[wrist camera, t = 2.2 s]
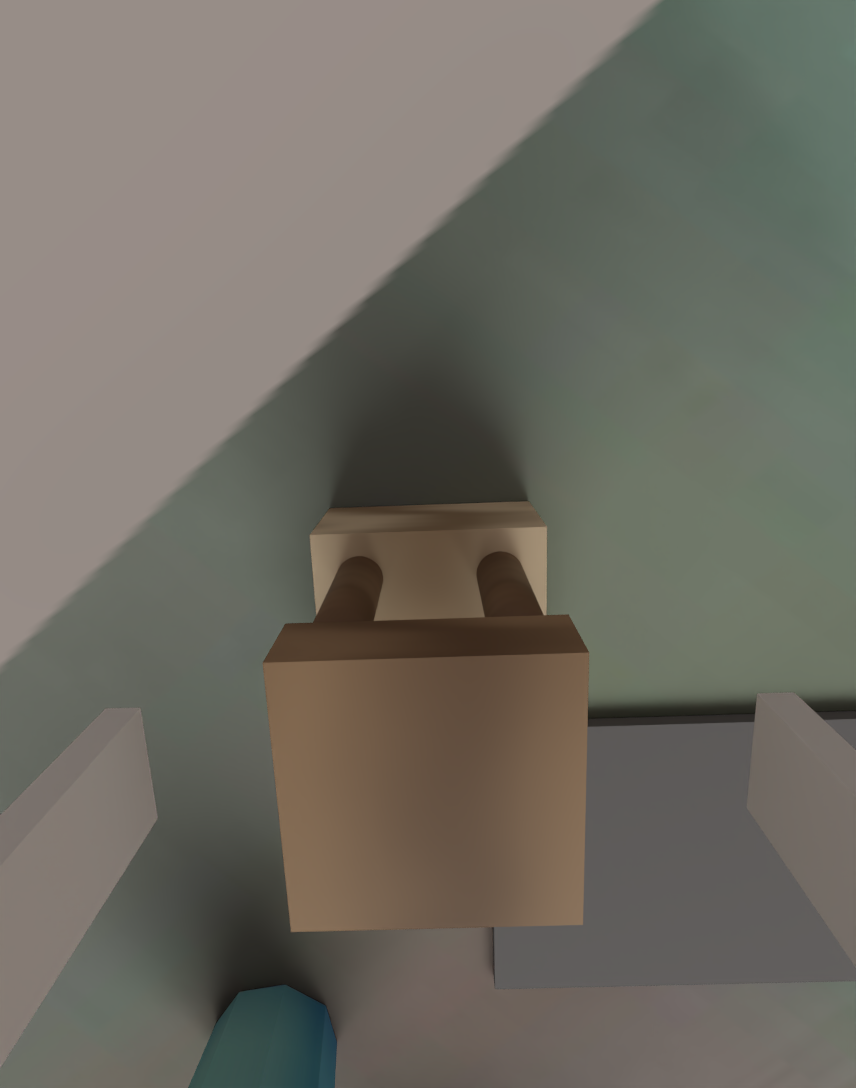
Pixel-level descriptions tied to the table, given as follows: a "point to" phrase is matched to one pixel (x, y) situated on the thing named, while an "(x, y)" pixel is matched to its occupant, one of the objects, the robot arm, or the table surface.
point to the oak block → (430, 553)
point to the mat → (677, 871)
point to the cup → (270, 1043)
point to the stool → (430, 760)
